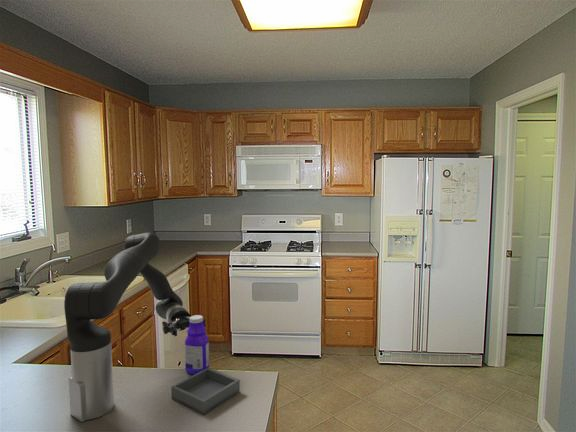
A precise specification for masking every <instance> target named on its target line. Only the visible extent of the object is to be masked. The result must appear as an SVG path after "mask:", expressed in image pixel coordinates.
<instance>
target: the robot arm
mask: <svg viewBox="0 0 576 432" xmlns="http://www.w3.org/2000/svg"><path fill="white" fill-rule="evenodd" d="M160 248H161V240H160V237H159V236H158V235H157V234H156V233H154V232H143V233H138V234H133V235H132V234H131V235H130V236H127V237H126V238H125V240H124V250H122V251H119V252H118V253H117V254H115V255H114V256H113V257H112V258H111V259H110V260H108V262H107V264H105V266H104V271H103V272H104V278H105V280H106V281H100V282H76V283H73V284H71V285H70V286H69V287H68V288H67V290H66V292H65V295H64V307H63V309H64V317H65V324H66V334H67V341H68V342H69V347H70V364H71V366H70V367H71V376H70V377H69V378H68V392H69V393H68V394H69V410H70V412H69V413H70V415H71V416H73V417H74V418H75V419H77V420H78V421H80V423H81V422H82V423H83V422H85V421H88V420H92V419H97V418H100V417H102V416H105V415H106V414H108V413H109V412H111V411H112V410H113V409H114V406H115V399H114V398H115V395H114V376H113V375H114V372H113V358H112V357H113V356H112V355H113V354H112V353H113V352H112V335H111V330H109V329H108V328H107V327H102V326H100V325H97V324H96V323H94V322H93V320H103V319H105V318H106V319H107V318H108V317H110V315H112V313H114V311H115V309H116V308H117V305H119V302H120V301H121V298H122V296H123V295H124V293H125V292H126V290H127V289H128V288H129V286H130V285H131V284H132V283H133V282H134V281H135V280H136V278H137V276H139V275H140V274H141V276H142V277H143V278H144V280H145V282H146V283H147V284H148V286H149V289H150V290H151V292H152V295H153V297H154V298H155V299H156V300H158V302H157V303H156V305H155V311H156V312H155V313H157V315H158V317H160V318H161V319H164V320H166V321H162V323H161V326H162V327H161V328H162V331H163V334H164V335H167V334H168V333H169V334H171V335H172V336H174V337H178V332H179V331H180V332H181V331H184V330H186V329H188V328H189V324H190V317H191V316H192V315H191V314H190V313H189V311H188V310H187V309H186V308H185V307H184V306H183V304H184V303H183V299H181V297H180V296H179V295H178V294H177V293H176V292H175V290H173V288H172V287H171V284H170V282H169V280H168V278H167V277H166V275H165V274H164V273H163V272H162V271H160V270H159V269H158V268H156V267H155V266H153V265H152V264H150V263H149V262H150V261H152V260H153V259H154V258H155V257H157V255H158V254H159V252H160ZM203 325H204V327H205V328H206V326H207V323H206V318H205V317H203Z"/></svg>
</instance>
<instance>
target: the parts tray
mask: <svg viewBox="0 0 576 432" xmlns="http://www.w3.org/2000/svg"><path fill="white" fill-rule="evenodd" d="M240 387H241V385H240V379H237V378H235V377H234V376H233V377H232V376H230V375H227V374H225V373H222V372H221V371H220V372H219V371H217V370H215V369H212V368H210V367H209V368H206V369H204V370H203V371H201V372H199V373H197V374H192V375H191V376H189V377H186V378H185V379H183V380H181V381H180V382H177V383H175V384H174V385H171V386H170V389H171V390H170V392H171V400H172V401H175V402H176V403H179V404H180V405H183V406H184V407H187V409H191V410H192V411H194V412H196V413H199V414H200V415H203V416H205V415H207V414H208V413H210V412H211V411H213V410H214V409H216V408H217V407H219V406H221V405H222V404H224V403H226V402H227V401H229V400H231V399H232V398H233V397H235V396H236V395H238V394H240V393H241V392H240V391H241V388H240Z"/></svg>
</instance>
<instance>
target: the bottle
mask: <svg viewBox="0 0 576 432" xmlns="http://www.w3.org/2000/svg"><path fill="white" fill-rule="evenodd" d="M203 318H204V316H203V315H200V314H195V315H194V314H193V315H191V317H190V324H189V328H187V331H186V334H187V336H186V338H185V340H184V351H185V352H184V353H185V354H184V359H185V360H184V361H185V365H184V367H185V370H186V372H187V373H188V374H191V375H195V374H197V373H199V372H201V371H203V370H204V369H206V368H210V342H209V336H208V335H207V333H206V332H207V329H206V326H205V327H204V325H203Z"/></svg>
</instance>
